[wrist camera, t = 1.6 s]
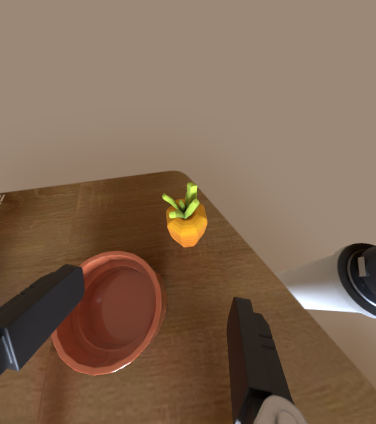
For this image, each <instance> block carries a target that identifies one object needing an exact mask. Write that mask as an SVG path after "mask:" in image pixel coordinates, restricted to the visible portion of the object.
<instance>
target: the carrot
mask: <svg viewBox="0 0 376 424" xmlns="http://www.w3.org/2000/svg"><path fill="white" fill-rule="evenodd" d="M196 196H197V185H196V184H195V183H192V182H189V183H187V192H186V196H185V199H177V200H176V201H174V200H173V199H172V198H171V197H170V196H168V195H167V194H165V193H164V194H163V196H162V198H163V199H164V200H166V201H167V202H169V203H170V204H171V206H170V207H169V208H168V209H167V211H166V216H167V226H168V230H169V232H170V235H171V236H172V238H173V239H174V240H175V241H177V242H178V243H179V244H181V245H182V246H183V247H191V246H194V245H195V244H196V243H197V242H198V240H199V239H200V238H201V236H202V235H203V234H204V232H205V229H206V226H207V217H206V212H205V207H204V205H202V204H200V203H199V201H198V200H197V199H196Z"/></svg>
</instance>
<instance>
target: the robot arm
mask: <svg viewBox="0 0 376 424" xmlns="http://www.w3.org/2000/svg"><path fill="white" fill-rule="evenodd" d="M346 275H347V278H348V281H349V283H350V285H351V286H352V288H353V289H354V291H355V292H356V293H357V294H358V295H359V296H360V297H361V298H362V299H363V300H364V301H366V302H367V303H368V304H370V305H372V306H374V307H376V246H375V247H371V248H368V249H362V250H359V251H356V252H354V253H352V254H351V255H350V256H349V257H348V259H347V262H346ZM84 292H85V286H84V276H83V269H82V267H79V266H74V265H69V264H66V265H63V266H62V267H61V268H59V269H58V270H57V271H55V272H52V273H50V274H48V275H46V276H44V277H41V278H40V279H38V280H37V281H35V282H34V283H33V284H31V285H30V286H29V288H26V289H25V290H23V291H22V292H20V294H18V295H16V296H15V297H14V298H12V299H11V300H10V301H8V302H7V303H5V304H4V305H3V306H1V307H0V375H1V374H2V373H3V372H4V371H5V370H6V369H11V370H15V371H19V370H20V369H21V368H22V367H23V366H24V365H25V363H26V362H27V361H28V360H29V359H30V358H31V357H32V356H33V354H34V353H35V352H36V351H37V350H38V349H39V348H40V347H41V345H42V344H43V343H44V342H45V341H46V340H47V339H48V338H49V336H50V335H51V334H52V333H53V332H54V331H55V330H56V328H57V327H58V326H59V325H60V324H61V323H62V322H63V321H64V319H65V318H66V317H67V316H68V315H69V314H70V313H71V312H72V310H73V309H74V308H75V307H76V306H77V305H78V304H79V303H80V301H81V300H82V298H83V296H84ZM227 343H228V357H229V372H230V387H231V401H232V416H233V424H308V422H307V421H306V419H305V417H304V416H303V414H302V413H301V412H300V411H299V409H298V408H297V407H296V406H295V405H294V402H293V400H292V398H291V395H290V392H289V389H288V386H287V382H286V379H285V376H284V373H283V369H282V366H281V363H280V360H279V357H278V353H277V350H276V347H275V344H274V341H273V339H272V334H271V331H270V328H269V325H268V323H267V322H266V320H265V319H264V318H263V316H262V315H261V314H259V313H254V312H253V309H252V304H251V301H250V300H249V299H244V298H238V297H234V298H233V301H232V305H231V309H230V313H229V317H228V322H227Z"/></svg>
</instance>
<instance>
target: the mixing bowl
mask: <svg viewBox="0 0 376 424" xmlns="http://www.w3.org/2000/svg"><path fill="white" fill-rule="evenodd" d="M79 267H82V269H83V276H84V286H85V292H84V296H83V298H82V300H81V301H80V303H79V304H78V305H77V306H76V307H75V308H74V309H73V310H72V312H71V313H70V314H69V315H68V316H67V317H66V318H65V319H64V321H63V322H62V323H61V324H60V325H59V326H58V327H57V328H56V330H55V331H54V332H53V333H52V341H53V344H54V346H55V348H56V350H57V352H58V354H59V356H60V358H61V359H62V360H63V361H64V362H65V363H66V364H68V365H69V366H70V367H71V368H72V369H73V370H75V371H79V372H82V373H86V374H89V375H99V374H106V373H112V372H115V371H116V370H118V369H120V368H122V367H124V366H126V365H127V364H129V363H131V362H132V361H133V360H134V359H135V358H136V357H137V356H138V355H139V354H140V353H141V352H142V351H143V350H144V349H145V348H146V347H147V346H148V345H149V344H150V343H151V342H152V340H153V339H154V338H155V337H156V336H157V334H158V332H159V330H160V329H161V327H162V325H163V323H164V320H165V315H166V311H167V306H168V303H167V291H166V288H165V285H164V282H163V280H162V277H161V276H160V275H159V274H158V273H157V271H156V270H155V269H154V268H153V267H152V266H151V265H150V264H148V263H147V262H146V261H145V260H143V259H142V258H140V257H138V256H137V255H135V254H133V253H129V252H124V251H110V252H103V253H100V254H98V255H96V256H93V257H91V258H89V259H87V260H86V261H84V262H83V263H82V264H81V265H79Z"/></svg>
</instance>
